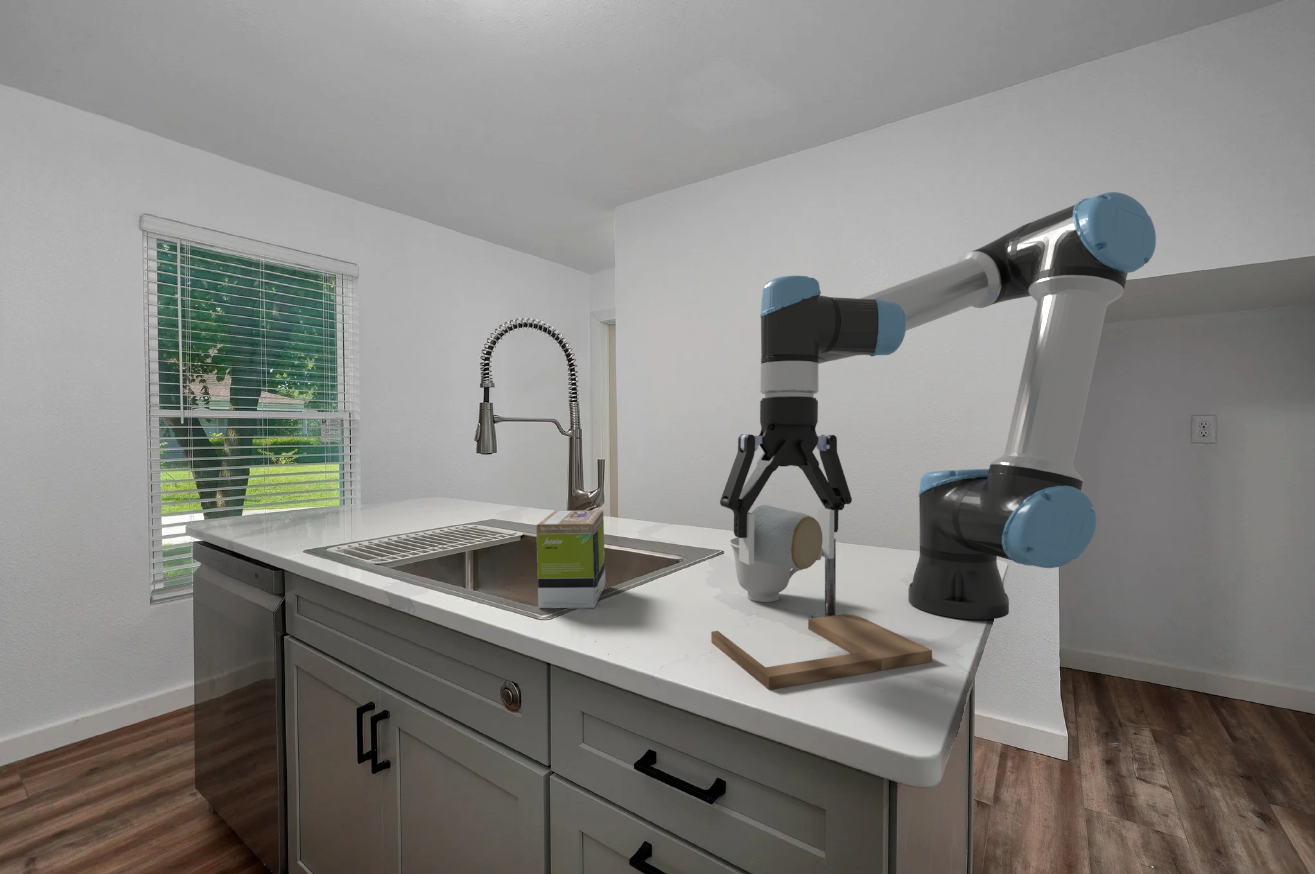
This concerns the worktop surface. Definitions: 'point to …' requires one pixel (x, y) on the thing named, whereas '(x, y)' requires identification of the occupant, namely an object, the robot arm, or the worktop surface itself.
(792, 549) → the ceramic mug
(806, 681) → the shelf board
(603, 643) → the worktop surface
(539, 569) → the tea box
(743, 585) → the teacup
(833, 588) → the bent metal bar
